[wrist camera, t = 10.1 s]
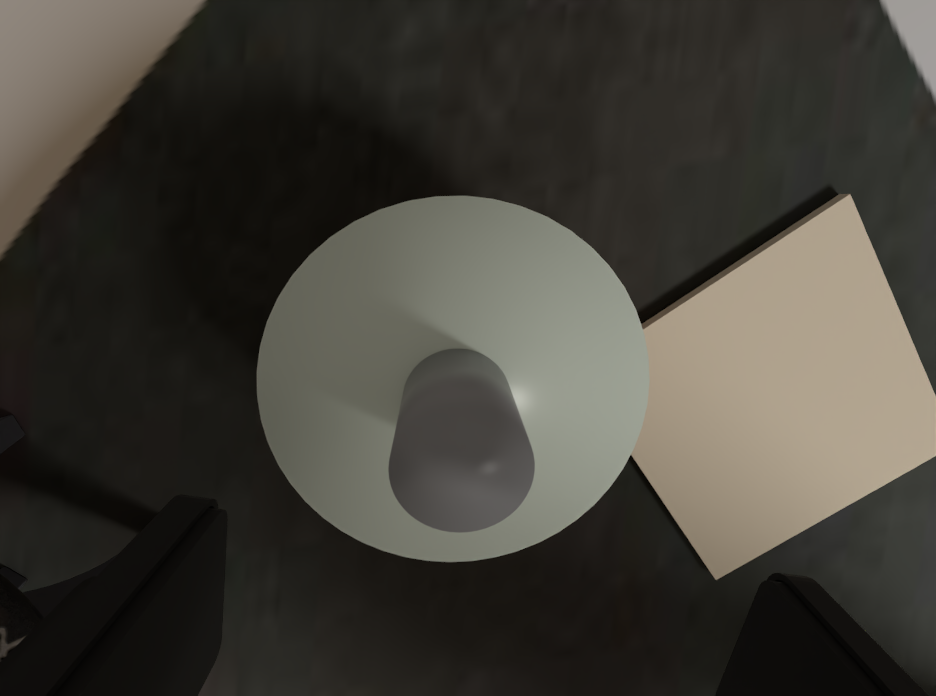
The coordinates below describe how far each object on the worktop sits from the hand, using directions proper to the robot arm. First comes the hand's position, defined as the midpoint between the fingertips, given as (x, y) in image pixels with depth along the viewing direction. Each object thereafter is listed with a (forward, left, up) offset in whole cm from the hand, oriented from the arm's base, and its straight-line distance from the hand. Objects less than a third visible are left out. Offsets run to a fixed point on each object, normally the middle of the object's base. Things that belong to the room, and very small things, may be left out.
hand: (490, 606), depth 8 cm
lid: (+1, 0, -9) cm, 9 cm away
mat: (-11, -11, -15) cm, 22 cm away
